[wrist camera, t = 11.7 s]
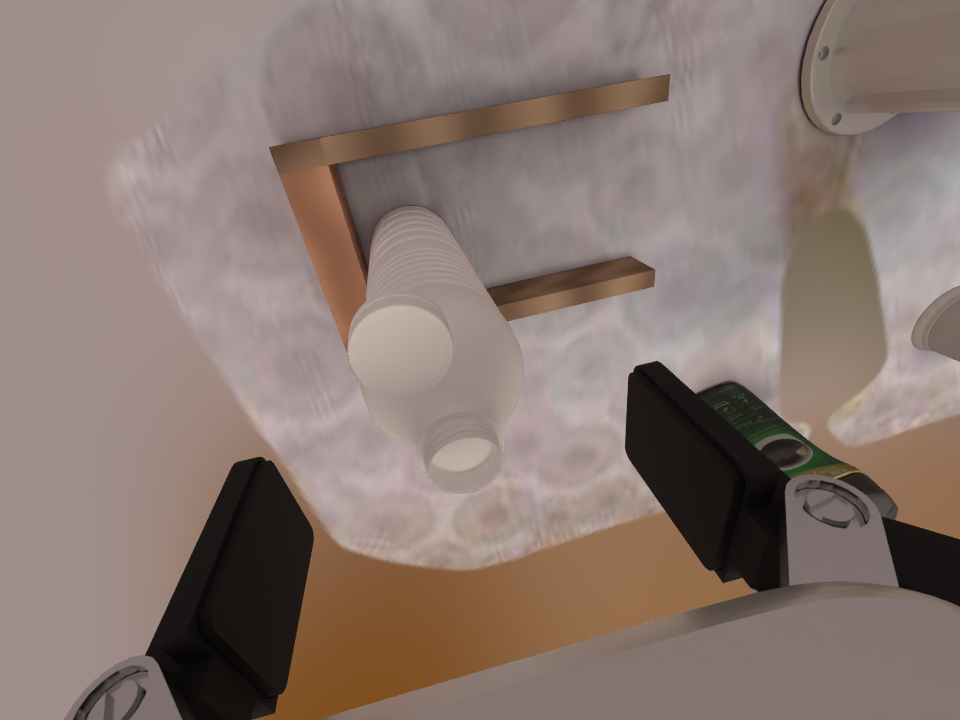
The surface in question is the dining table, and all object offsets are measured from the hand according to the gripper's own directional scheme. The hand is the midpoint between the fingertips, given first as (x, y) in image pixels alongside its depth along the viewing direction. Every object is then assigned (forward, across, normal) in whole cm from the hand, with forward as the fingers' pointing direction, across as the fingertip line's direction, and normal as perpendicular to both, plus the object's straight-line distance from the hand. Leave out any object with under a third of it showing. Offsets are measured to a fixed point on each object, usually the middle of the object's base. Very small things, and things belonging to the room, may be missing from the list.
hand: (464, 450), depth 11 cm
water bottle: (+26, +1, 0) cm, 26 cm away
